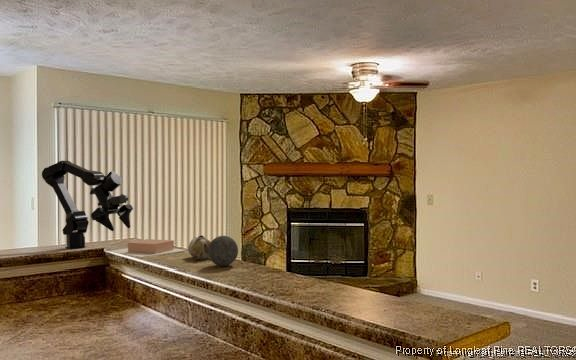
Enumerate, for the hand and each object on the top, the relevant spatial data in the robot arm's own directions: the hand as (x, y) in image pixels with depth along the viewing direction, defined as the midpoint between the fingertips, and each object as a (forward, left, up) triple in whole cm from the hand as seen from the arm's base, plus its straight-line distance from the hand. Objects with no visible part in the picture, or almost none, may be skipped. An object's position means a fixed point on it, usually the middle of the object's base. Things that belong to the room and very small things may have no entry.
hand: (121, 229), depth 214 cm
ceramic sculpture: (+8, -44, -9) cm, 46 cm away
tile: (+2, -9, -6) cm, 11 cm away
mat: (+3, -13, -9) cm, 16 cm away
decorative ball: (+2, -63, -9) cm, 64 cm away
